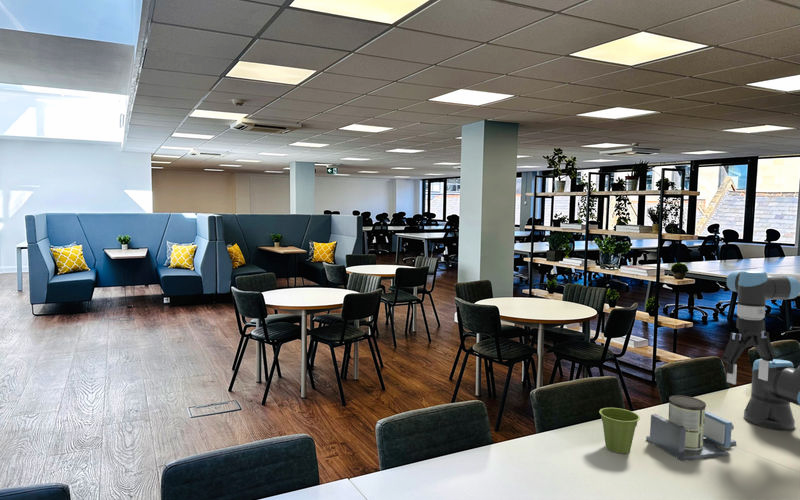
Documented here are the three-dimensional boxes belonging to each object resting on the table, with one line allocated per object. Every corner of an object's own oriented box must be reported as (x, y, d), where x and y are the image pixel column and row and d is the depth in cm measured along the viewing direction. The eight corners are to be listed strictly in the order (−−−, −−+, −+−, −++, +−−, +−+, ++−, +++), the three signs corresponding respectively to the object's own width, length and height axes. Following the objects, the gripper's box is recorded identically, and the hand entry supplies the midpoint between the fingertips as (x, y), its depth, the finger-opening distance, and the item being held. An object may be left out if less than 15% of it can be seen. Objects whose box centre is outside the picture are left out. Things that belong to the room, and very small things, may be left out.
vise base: (711, 432, 175) (713, 406, 175) (751, 452, 161) (753, 424, 160) (646, 439, 168) (647, 412, 168) (682, 461, 154) (684, 431, 153)
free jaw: (715, 431, 173) (717, 408, 173) (745, 445, 163) (746, 420, 162) (695, 433, 171) (696, 410, 170) (723, 447, 160) (725, 423, 160)
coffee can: (662, 435, 169) (664, 393, 168) (696, 438, 167) (698, 396, 167) (672, 448, 159) (675, 404, 158) (708, 452, 157) (711, 408, 156)
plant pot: (637, 445, 164) (639, 411, 163) (638, 460, 153) (640, 424, 153) (598, 437, 169) (600, 404, 168) (596, 452, 158) (598, 417, 158)
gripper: (731, 322, 160) (727, 388, 161) (790, 318, 167) (786, 381, 168) (710, 317, 167) (707, 380, 168) (768, 313, 174) (765, 374, 175)
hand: (747, 381), depth 168 cm, fingers open, 13 cm apart
